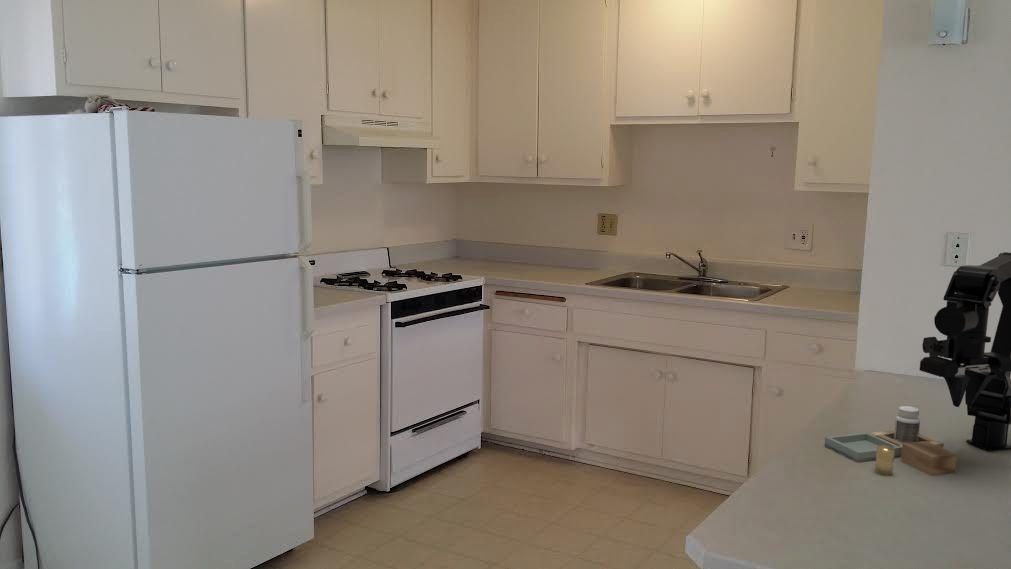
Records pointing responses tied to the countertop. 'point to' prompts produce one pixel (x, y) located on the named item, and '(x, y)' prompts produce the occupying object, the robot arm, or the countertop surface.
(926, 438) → the socket collar
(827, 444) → the tray
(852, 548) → the countertop surface
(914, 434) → the pill bottle
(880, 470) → the bench dog
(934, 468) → the brown cardboard box
